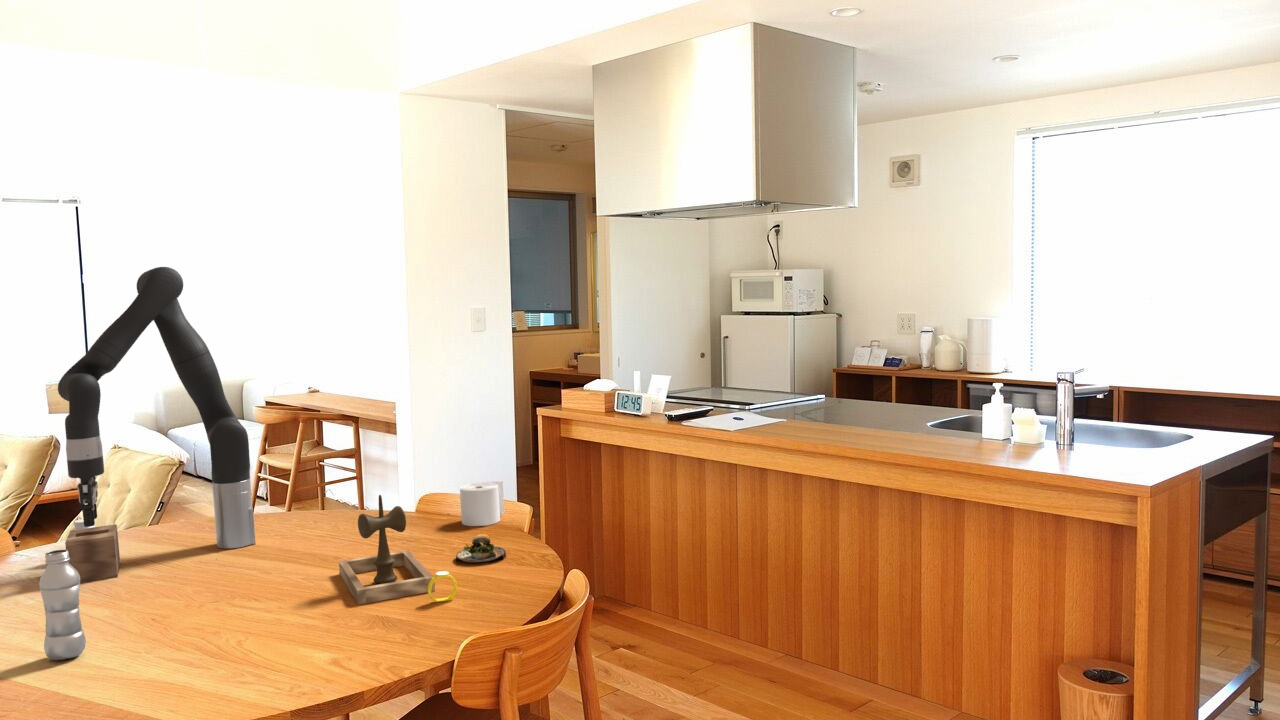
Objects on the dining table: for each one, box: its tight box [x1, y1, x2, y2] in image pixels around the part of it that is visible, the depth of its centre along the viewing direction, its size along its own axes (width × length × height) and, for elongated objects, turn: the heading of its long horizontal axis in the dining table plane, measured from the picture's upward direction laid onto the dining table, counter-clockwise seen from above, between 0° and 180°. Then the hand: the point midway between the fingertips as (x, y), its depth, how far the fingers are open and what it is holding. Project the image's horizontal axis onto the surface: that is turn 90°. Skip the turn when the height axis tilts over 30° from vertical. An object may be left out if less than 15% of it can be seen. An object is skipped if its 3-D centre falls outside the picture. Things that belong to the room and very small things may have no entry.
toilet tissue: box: [459, 481, 505, 527], centre depth 269 cm, size 11×12×10 cm
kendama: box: [357, 494, 407, 585], centre depth 216 cm, size 6×10×20 cm, turn 129°
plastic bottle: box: [38, 548, 87, 661], centre depth 178 cm, size 6×7×20 cm
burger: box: [455, 533, 507, 563], centre depth 232 cm, size 12×12×8 cm
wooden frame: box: [338, 550, 436, 605], centre depth 217 cm, size 16×25×3 cm, turn 26°
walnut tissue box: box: [64, 524, 121, 584], centre depth 233 cm, size 10×13×10 cm
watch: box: [427, 570, 458, 603], centre depth 202 cm, size 6×3×6 cm, turn 121°
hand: (90, 522), depth 232 cm, fingers open, 8 cm apart
